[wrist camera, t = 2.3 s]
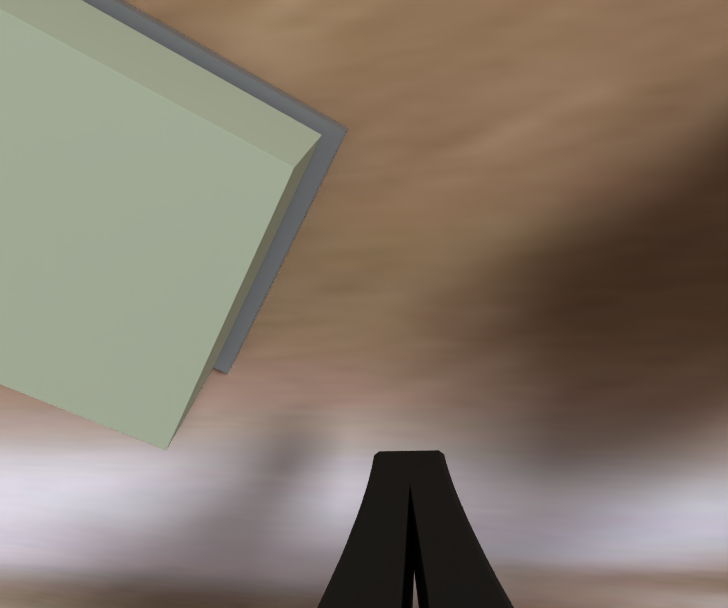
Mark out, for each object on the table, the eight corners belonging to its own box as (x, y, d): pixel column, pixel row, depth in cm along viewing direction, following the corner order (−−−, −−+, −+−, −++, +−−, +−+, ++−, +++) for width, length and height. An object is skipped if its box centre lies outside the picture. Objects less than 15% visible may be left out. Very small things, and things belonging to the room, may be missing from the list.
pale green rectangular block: (322, 135, 12) (294, 167, 9) (213, 366, 16) (166, 450, 12) (-187, -151, 10) (-475, -248, 7) (-171, 197, 14) (-349, 245, 10)
